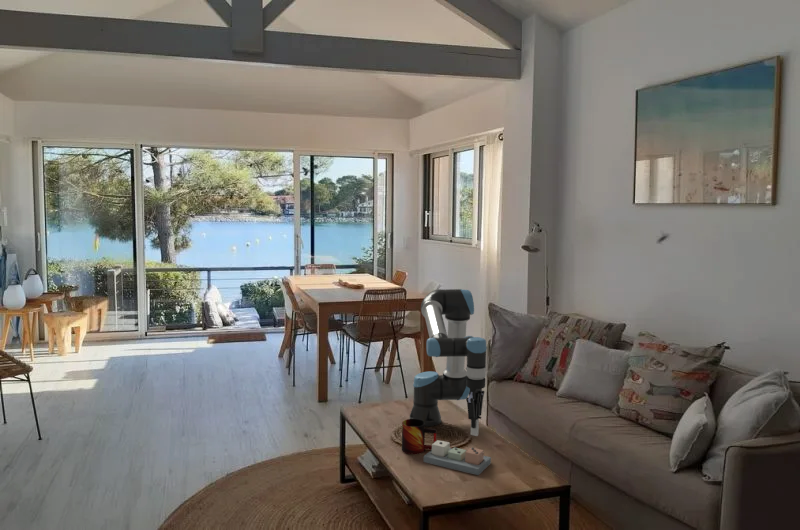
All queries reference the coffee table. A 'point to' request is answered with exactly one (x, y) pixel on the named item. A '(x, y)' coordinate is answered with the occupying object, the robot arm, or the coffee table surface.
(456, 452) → the key two
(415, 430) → the mug
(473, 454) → the key three
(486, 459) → the keypad board
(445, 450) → the key one
